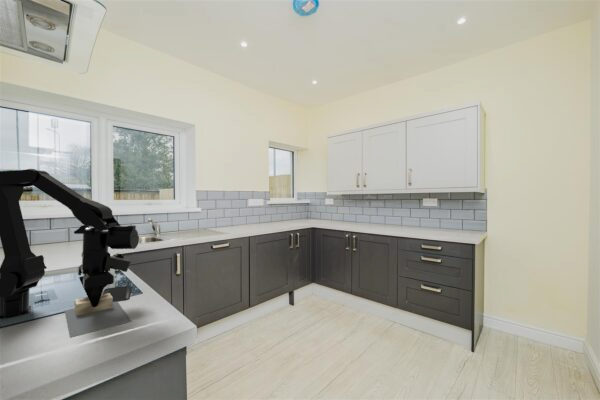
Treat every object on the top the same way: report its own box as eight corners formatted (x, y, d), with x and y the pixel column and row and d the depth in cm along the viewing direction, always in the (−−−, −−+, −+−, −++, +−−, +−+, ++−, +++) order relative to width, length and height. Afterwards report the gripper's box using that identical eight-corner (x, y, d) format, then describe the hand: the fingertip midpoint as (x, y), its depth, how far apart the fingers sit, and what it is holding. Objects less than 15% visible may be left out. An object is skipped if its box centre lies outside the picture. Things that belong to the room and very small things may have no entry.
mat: (64, 312, 73) (64, 310, 73) (116, 301, 81) (116, 299, 81) (69, 339, 59) (69, 337, 59) (131, 323, 67) (131, 321, 67)
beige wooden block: (76, 315, 70) (76, 304, 70) (74, 310, 73) (74, 299, 73) (112, 307, 75) (112, 297, 75) (109, 302, 79) (109, 292, 79)
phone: (131, 285, 95) (129, 298, 82) (131, 288, 95) (129, 302, 82) (104, 288, 91) (97, 303, 78) (104, 291, 91) (97, 306, 78)
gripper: (136, 250, 74) (134, 306, 73) (122, 242, 87) (120, 289, 87) (85, 255, 66) (83, 317, 66) (78, 246, 79) (76, 297, 79)
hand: (93, 304), depth 74 cm, fingers closed on beige wooden block, 5 cm apart
